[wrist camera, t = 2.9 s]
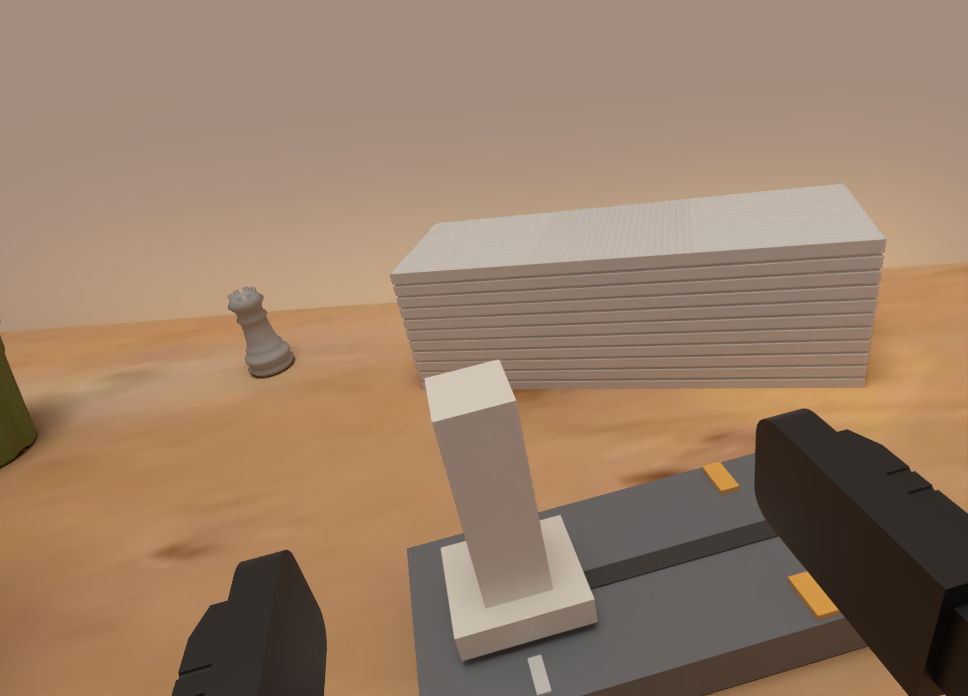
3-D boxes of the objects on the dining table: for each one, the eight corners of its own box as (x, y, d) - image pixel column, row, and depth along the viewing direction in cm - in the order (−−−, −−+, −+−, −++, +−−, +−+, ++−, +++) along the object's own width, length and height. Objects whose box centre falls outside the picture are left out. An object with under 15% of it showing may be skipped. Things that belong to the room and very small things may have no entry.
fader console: (438, 775, 25) (421, 738, 23) (418, 579, 33) (405, 544, 32) (977, 613, 26) (991, 569, 25) (823, 467, 35) (828, 428, 34)
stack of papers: (423, 391, 50) (389, 273, 45) (460, 328, 59) (435, 223, 54) (863, 390, 40) (886, 238, 35) (830, 314, 49) (844, 183, 44)
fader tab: (461, 661, 25) (390, 451, 20) (447, 568, 30) (385, 375, 24) (597, 622, 26) (565, 405, 20) (563, 536, 30) (529, 338, 25)
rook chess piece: (261, 356, 61) (231, 285, 57) (302, 352, 60) (274, 279, 57) (242, 381, 58) (207, 306, 54) (285, 376, 57) (253, 300, 53)
